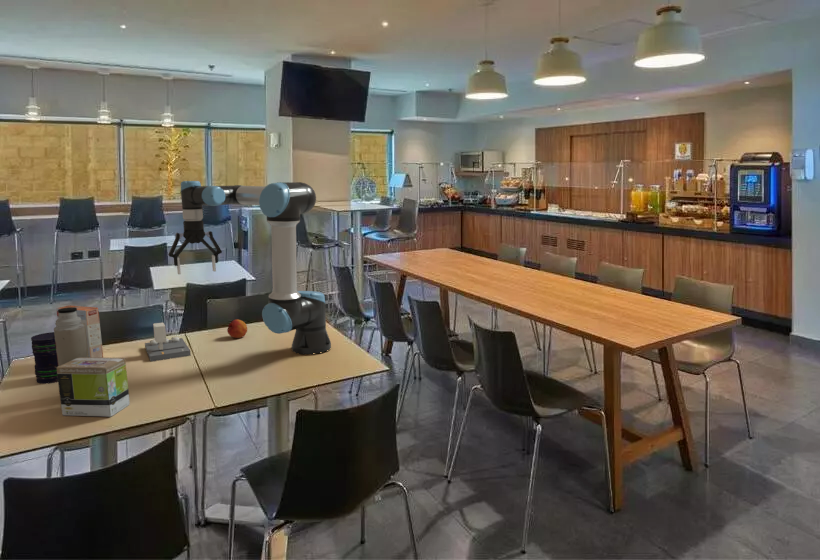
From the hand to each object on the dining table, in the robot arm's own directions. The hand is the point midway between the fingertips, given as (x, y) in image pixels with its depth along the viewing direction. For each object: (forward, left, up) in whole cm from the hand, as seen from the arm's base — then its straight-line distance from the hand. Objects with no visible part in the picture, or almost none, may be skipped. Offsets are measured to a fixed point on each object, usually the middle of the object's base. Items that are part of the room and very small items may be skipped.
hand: (197, 272), depth 233 cm
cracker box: (-8, +43, -29) cm, 52 cm away
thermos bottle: (-45, +45, -29) cm, 70 cm away
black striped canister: (-22, +52, -29) cm, 63 cm away
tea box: (-60, +40, -29) cm, 78 cm away
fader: (-13, +17, -26) cm, 34 cm away
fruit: (-3, -14, -29) cm, 32 cm away
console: (-9, +14, -29) cm, 33 cm away
